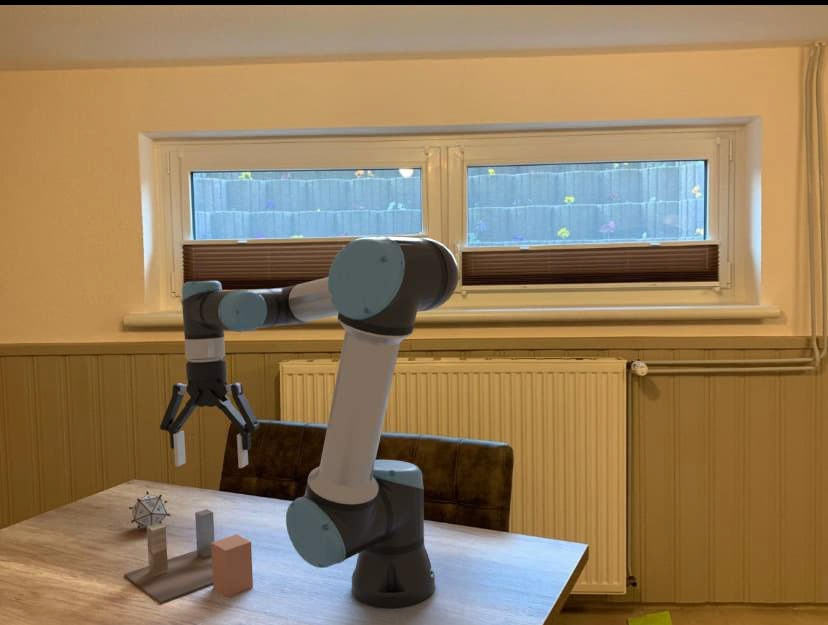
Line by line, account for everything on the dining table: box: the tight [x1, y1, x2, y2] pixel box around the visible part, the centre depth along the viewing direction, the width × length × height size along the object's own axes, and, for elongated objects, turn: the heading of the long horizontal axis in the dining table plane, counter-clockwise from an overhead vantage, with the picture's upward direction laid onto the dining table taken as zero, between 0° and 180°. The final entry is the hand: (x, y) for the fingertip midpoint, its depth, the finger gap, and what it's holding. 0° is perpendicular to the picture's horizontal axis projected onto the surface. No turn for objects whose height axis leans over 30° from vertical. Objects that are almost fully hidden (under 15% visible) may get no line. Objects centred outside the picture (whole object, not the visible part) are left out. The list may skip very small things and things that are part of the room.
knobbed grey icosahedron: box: [128, 490, 171, 529], centre depth 155 cm, size 9×8×10 cm
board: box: [123, 549, 213, 605], centre depth 131 cm, size 16×18×1 cm
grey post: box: [194, 509, 216, 559], centre depth 138 cm, size 3×3×9 cm
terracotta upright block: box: [211, 534, 254, 598], centre depth 125 cm, size 5×5×9 cm
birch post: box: [146, 523, 168, 576], centre depth 131 cm, size 3×3×9 cm
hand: (211, 465), depth 135 cm, fingers open, 13 cm apart
